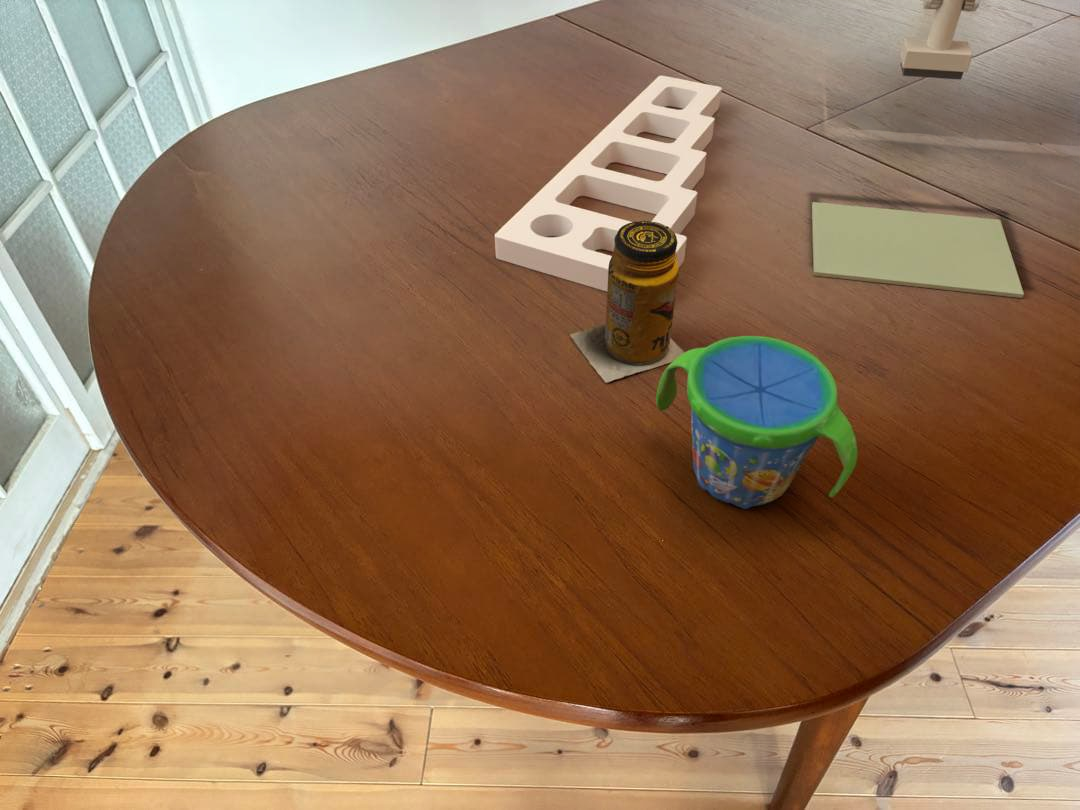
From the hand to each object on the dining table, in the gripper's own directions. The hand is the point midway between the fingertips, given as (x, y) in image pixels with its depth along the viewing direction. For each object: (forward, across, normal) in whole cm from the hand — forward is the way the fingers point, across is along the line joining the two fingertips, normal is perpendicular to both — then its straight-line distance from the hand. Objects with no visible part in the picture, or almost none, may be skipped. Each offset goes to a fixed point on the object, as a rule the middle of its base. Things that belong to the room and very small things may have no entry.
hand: (950, 8), depth 94 cm
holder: (+22, -30, +3) cm, 37 cm away
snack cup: (+53, -18, -29) cm, 63 cm away
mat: (+28, -2, -4) cm, 28 cm away
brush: (+5, 0, +6) cm, 7 cm away
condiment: (+43, -29, -19) cm, 55 cm away
